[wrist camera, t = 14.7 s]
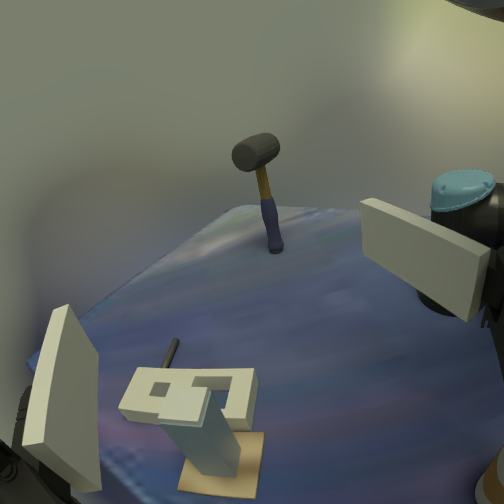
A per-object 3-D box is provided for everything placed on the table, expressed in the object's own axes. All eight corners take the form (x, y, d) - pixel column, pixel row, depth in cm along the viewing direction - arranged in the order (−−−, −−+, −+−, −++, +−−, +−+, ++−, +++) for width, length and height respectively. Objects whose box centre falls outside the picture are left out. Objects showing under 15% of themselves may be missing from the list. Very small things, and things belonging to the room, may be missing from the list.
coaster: (195, 431, 40) (194, 429, 40) (265, 434, 38) (264, 432, 38) (178, 491, 31) (176, 489, 31) (255, 499, 29) (254, 498, 29)
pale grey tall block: (208, 447, 37) (168, 384, 31) (241, 448, 36) (209, 385, 30) (202, 474, 33) (155, 419, 27) (236, 477, 32) (199, 422, 26)
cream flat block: (163, 342, 59) (157, 328, 58) (265, 338, 55) (261, 323, 54) (128, 420, 43) (117, 407, 41) (250, 431, 39) (245, 417, 37)
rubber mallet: (274, 239, 90) (252, 132, 77) (299, 240, 86) (279, 129, 73) (253, 262, 81) (225, 143, 68) (280, 264, 77) (255, 139, 64)
